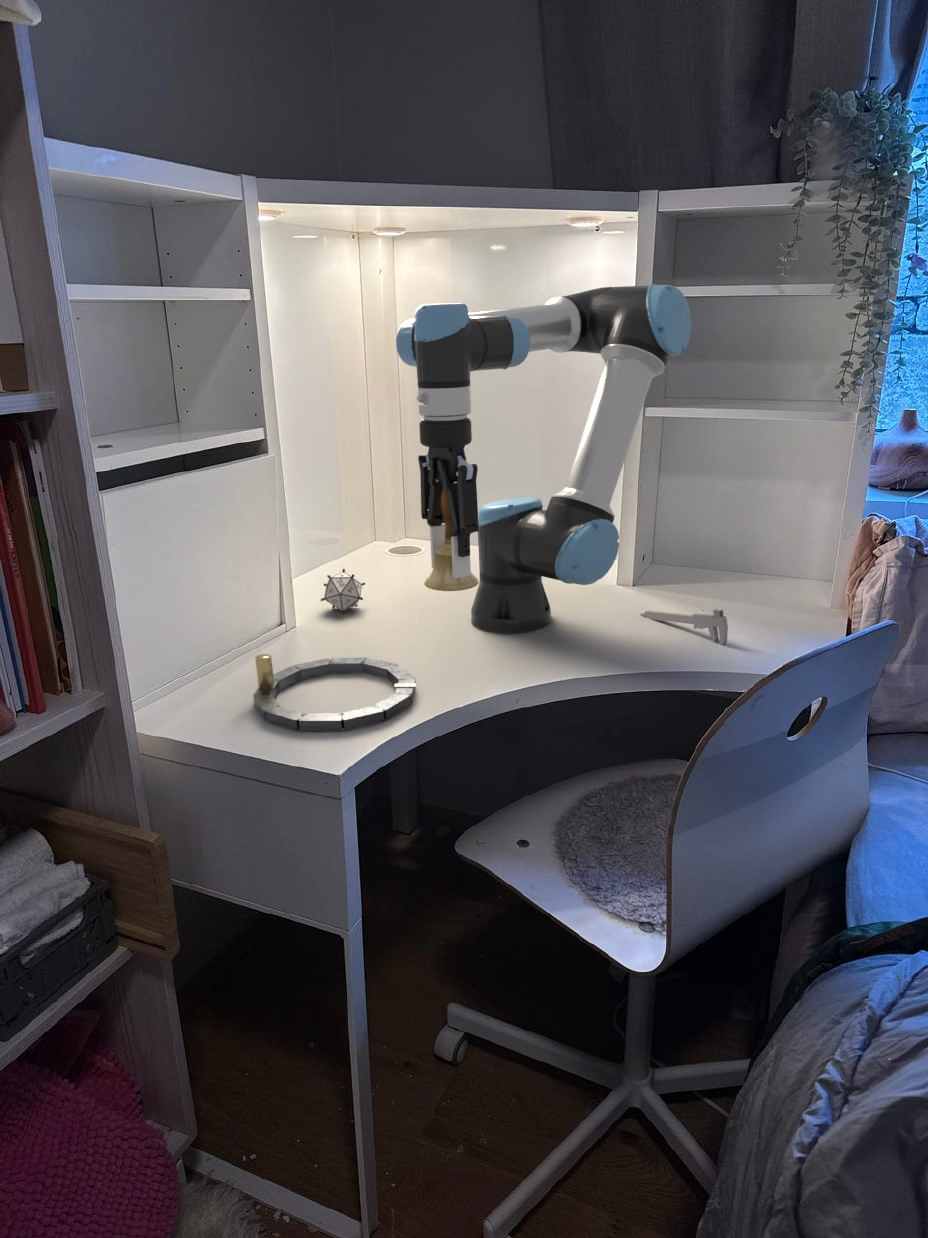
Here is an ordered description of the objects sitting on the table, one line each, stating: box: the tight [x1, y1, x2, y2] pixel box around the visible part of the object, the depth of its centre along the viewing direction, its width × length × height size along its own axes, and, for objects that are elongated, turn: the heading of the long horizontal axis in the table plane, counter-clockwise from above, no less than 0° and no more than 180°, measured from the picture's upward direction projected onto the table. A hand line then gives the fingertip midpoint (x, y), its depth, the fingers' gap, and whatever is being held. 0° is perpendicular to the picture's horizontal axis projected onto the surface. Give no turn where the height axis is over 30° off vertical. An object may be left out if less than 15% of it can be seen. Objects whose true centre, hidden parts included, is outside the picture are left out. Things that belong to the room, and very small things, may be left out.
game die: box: [320, 568, 366, 615], centre depth 176 cm, size 9×8×10 cm
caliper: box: [639, 608, 729, 645], centre depth 161 cm, size 20×1×6 cm, turn 33°
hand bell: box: [423, 482, 480, 592], centre depth 133 cm, size 8×8×16 cm
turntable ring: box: [252, 653, 417, 732], centre depth 136 cm, size 24×24×7 cm
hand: (450, 571), depth 135 cm, fingers closed on hand bell, 6 cm apart
